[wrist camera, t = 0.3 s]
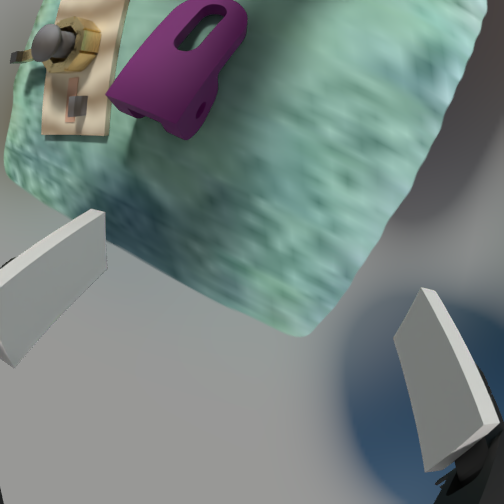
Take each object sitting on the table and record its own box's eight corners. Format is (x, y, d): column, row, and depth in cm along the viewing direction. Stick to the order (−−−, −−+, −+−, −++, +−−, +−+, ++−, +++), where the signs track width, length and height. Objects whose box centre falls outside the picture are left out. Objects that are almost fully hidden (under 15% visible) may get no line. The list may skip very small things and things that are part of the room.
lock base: (71, -18, 25) (36, -28, 17) (140, -36, 24) (108, -57, 16) (46, 133, 38) (7, 143, 30) (108, 134, 37) (68, 144, 29)
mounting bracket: (199, 25, 34) (128, 120, 34) (194, -11, 25) (104, 94, 26) (256, 46, 34) (187, 148, 35) (262, 10, 26) (175, 124, 26)
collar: (105, 17, 28) (85, 11, 23) (95, 70, 31) (74, 68, 27) (34, 36, 29) (15, 35, 24) (26, 81, 32) (7, 82, 28)
